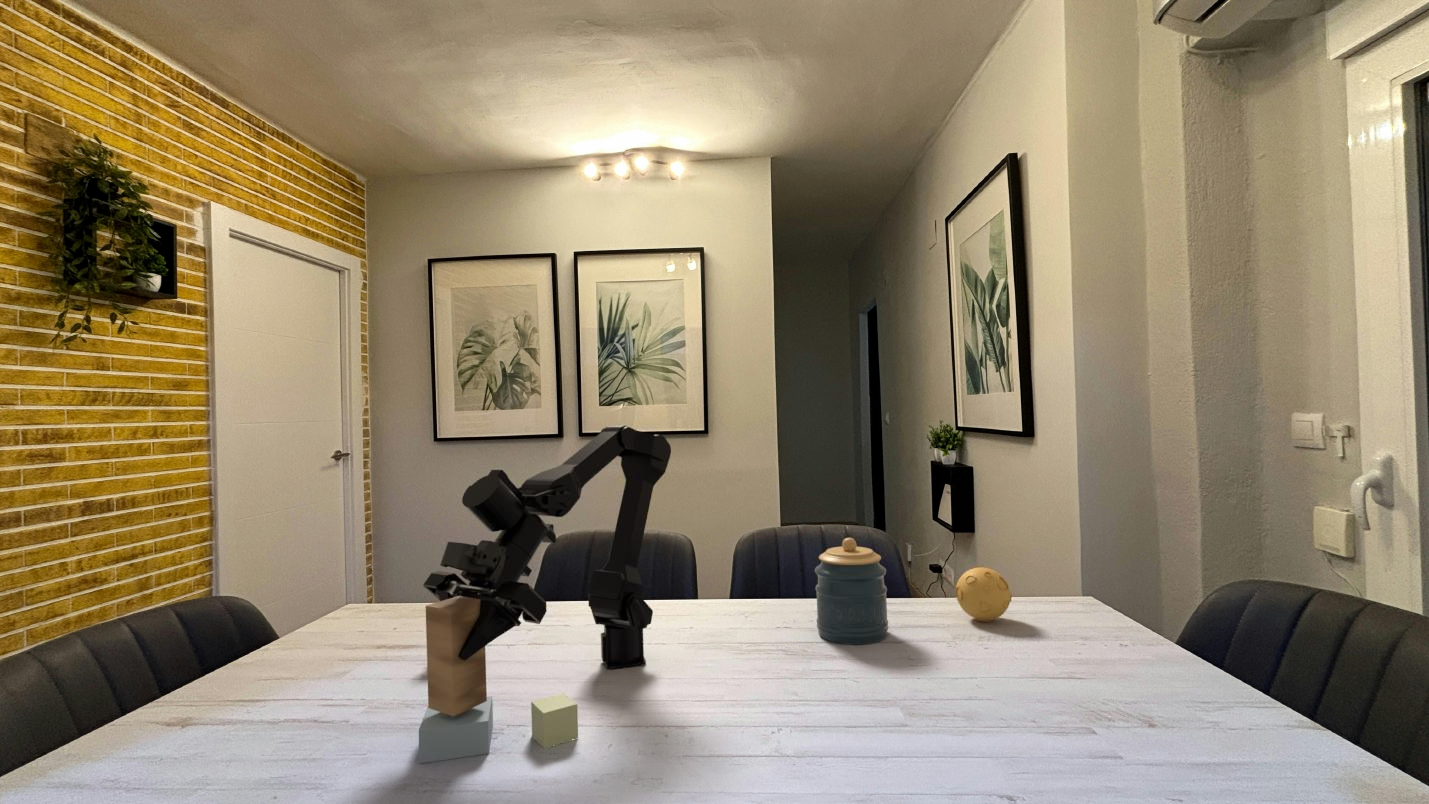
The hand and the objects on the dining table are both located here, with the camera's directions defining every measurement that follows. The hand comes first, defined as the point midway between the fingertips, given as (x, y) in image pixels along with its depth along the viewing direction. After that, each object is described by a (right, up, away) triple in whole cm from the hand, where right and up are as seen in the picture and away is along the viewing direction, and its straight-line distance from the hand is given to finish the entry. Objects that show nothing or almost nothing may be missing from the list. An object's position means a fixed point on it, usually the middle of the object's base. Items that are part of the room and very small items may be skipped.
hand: (447, 655), depth 87 cm
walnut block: (+1, -7, +1) cm, 7 cm away
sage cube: (+13, -11, +2) cm, 18 cm away
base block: (+1, -12, +1) cm, 12 cm away
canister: (+59, -11, +40) cm, 72 cm away
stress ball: (+86, -10, +45) cm, 97 cm away
